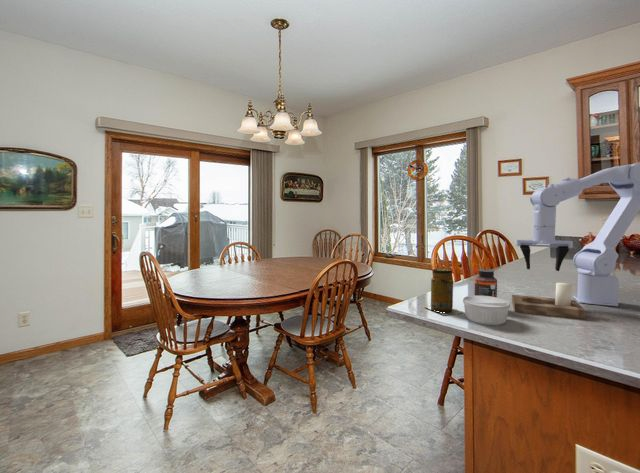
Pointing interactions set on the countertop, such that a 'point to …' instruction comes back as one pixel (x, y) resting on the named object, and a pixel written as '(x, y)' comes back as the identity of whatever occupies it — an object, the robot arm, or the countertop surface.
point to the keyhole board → (546, 307)
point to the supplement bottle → (486, 283)
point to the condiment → (442, 292)
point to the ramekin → (486, 309)
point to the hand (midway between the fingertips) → (542, 269)
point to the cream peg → (563, 294)
